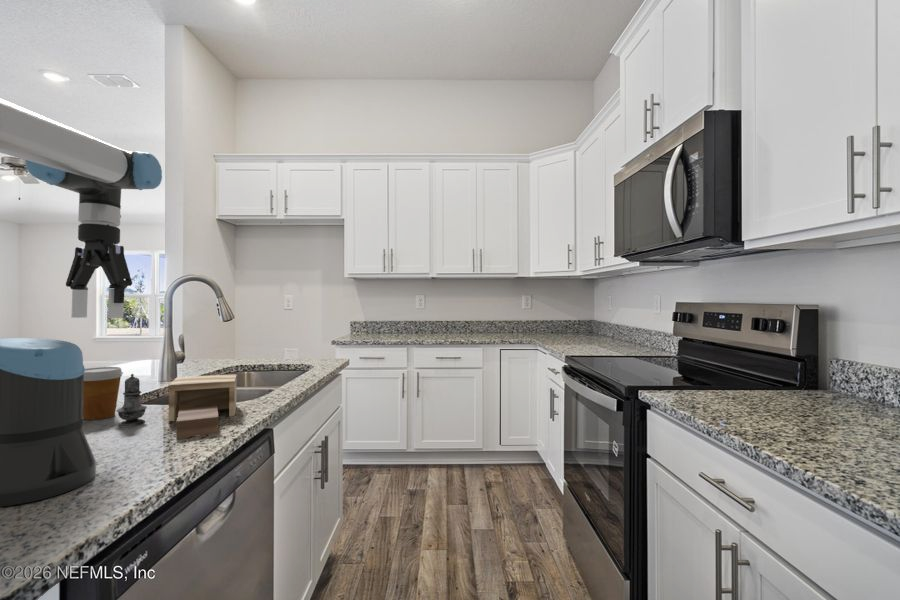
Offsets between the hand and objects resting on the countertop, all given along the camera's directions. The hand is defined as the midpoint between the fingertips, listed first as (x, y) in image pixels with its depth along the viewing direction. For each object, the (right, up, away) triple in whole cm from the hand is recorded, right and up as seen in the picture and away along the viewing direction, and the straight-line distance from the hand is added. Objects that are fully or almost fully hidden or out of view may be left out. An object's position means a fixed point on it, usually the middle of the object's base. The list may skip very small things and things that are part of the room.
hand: (97, 318), depth 99 cm
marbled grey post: (+4, -26, +5) cm, 27 cm away
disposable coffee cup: (-8, -26, +11) cm, 29 cm away
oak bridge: (+17, -26, +14) cm, 34 cm away
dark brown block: (+22, -26, +2) cm, 34 cm away
